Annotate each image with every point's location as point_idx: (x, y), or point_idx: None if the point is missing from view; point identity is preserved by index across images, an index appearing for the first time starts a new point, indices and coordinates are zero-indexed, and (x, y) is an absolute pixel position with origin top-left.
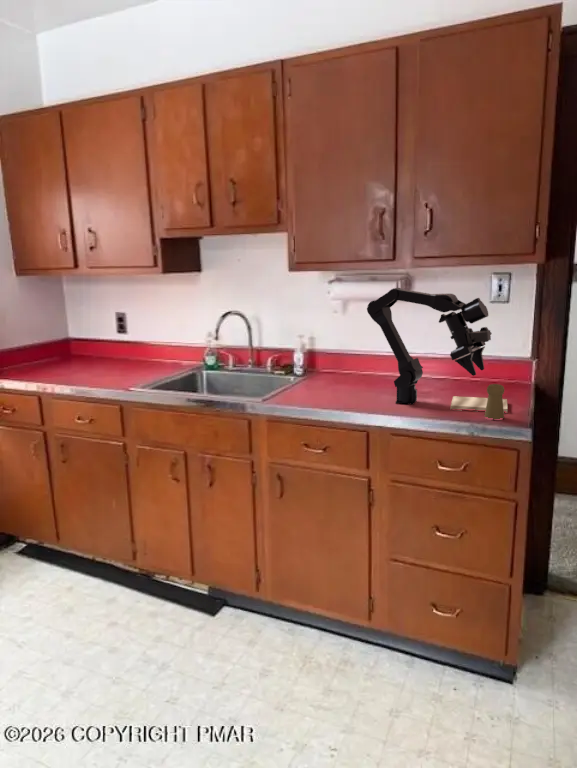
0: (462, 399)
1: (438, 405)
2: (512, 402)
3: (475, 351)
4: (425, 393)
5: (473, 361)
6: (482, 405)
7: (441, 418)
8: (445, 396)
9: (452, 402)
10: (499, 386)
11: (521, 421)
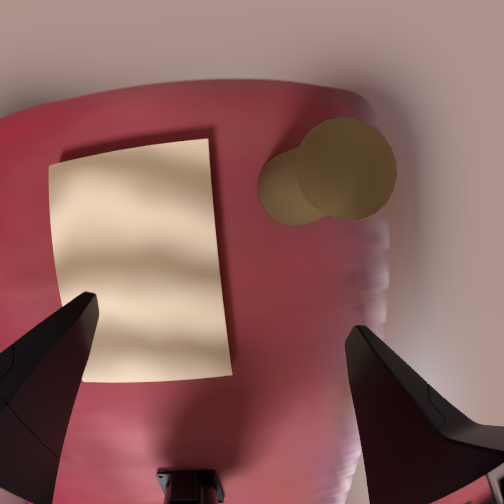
0: (113, 346)
1: (184, 412)
2: (42, 151)
3: (6, 478)
4: None
5: (67, 422)
6: (182, 250)
7: None
8: None
9: (179, 376)
10: (382, 141)
11: (305, 96)
